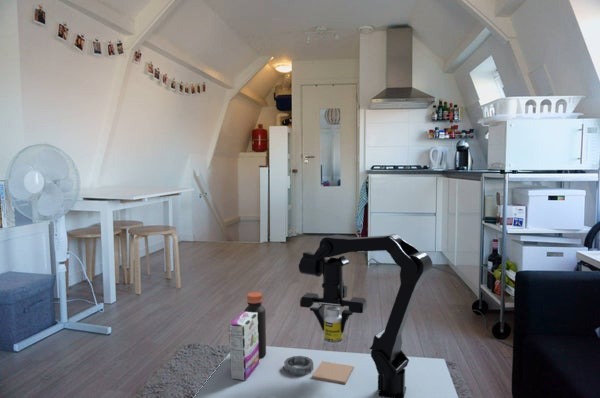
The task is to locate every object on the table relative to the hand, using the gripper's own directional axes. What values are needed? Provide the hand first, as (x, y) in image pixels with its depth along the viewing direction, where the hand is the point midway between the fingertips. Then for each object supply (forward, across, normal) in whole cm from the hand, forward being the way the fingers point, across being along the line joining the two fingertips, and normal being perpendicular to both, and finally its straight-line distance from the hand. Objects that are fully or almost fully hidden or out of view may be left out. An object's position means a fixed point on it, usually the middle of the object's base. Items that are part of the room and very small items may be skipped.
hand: (333, 331), depth 123 cm
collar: (+12, +11, +1) cm, 16 cm away
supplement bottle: (+3, 0, 0) cm, 3 cm away
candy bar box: (+13, +25, +8) cm, 29 cm away
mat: (+13, 0, 0) cm, 13 cm away
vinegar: (+13, +27, -3) cm, 30 cm away
